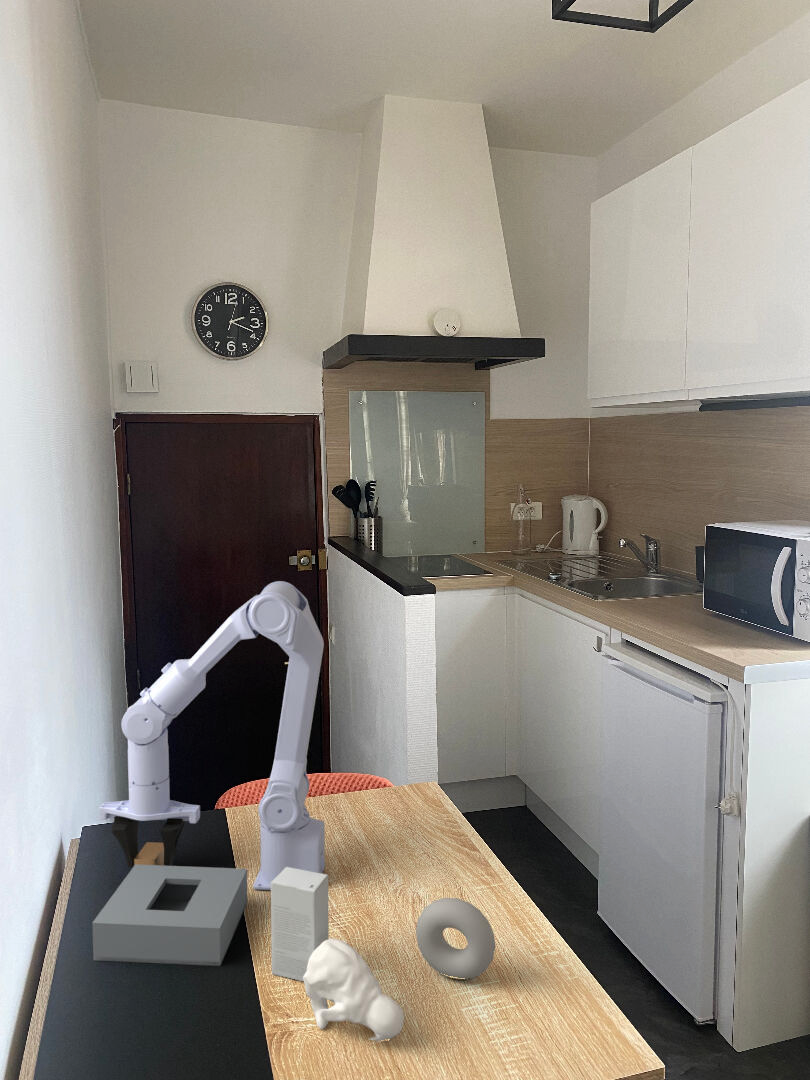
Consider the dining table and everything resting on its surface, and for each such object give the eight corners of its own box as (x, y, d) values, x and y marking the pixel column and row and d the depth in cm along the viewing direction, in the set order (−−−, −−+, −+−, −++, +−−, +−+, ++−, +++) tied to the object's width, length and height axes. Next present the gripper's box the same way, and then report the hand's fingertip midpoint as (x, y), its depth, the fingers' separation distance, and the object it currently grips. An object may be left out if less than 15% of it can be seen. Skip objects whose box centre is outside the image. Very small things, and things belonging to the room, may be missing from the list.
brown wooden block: (166, 867, 123) (166, 842, 122) (155, 885, 118) (154, 859, 117) (147, 867, 123) (146, 842, 122) (135, 884, 118) (134, 859, 117)
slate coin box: (247, 902, 114) (247, 868, 113) (220, 965, 100) (219, 928, 99) (136, 897, 114) (135, 864, 114) (93, 960, 100) (92, 922, 100)
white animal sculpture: (334, 921, 95) (421, 966, 88) (328, 985, 96) (413, 1035, 90) (299, 949, 89) (389, 999, 83) (294, 1017, 91) (381, 1071, 84)
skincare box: (329, 964, 100) (330, 874, 99) (315, 986, 96) (315, 892, 95) (286, 954, 102) (285, 865, 101) (269, 974, 98) (269, 882, 97)
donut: (411, 974, 99) (412, 898, 97) (420, 958, 102) (422, 884, 101) (490, 996, 95) (492, 916, 94) (497, 978, 98) (499, 901, 97)
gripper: (205, 768, 122) (206, 853, 124) (111, 765, 123) (114, 849, 124) (191, 788, 115) (192, 877, 117) (91, 784, 116) (94, 874, 117)
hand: (151, 865), depth 120 cm, fingers open, 5 cm apart
